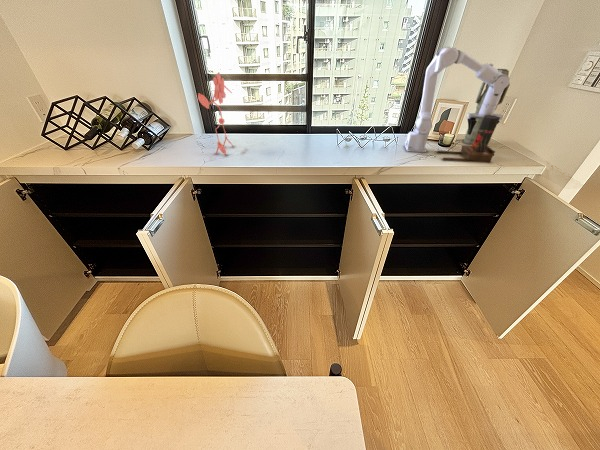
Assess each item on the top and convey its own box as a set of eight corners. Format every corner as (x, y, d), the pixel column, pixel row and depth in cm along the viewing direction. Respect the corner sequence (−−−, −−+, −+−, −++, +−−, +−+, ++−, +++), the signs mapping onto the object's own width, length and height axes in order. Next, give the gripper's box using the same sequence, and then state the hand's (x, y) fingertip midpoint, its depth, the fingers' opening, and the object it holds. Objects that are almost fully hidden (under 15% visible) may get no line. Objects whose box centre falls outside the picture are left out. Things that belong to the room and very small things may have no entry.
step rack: (443, 160, 123) (447, 149, 120) (437, 152, 131) (440, 141, 128) (490, 162, 120) (496, 151, 117) (481, 154, 129) (486, 143, 125)
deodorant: (487, 152, 120) (502, 119, 111) (473, 151, 121) (487, 118, 112) (482, 148, 125) (496, 115, 116) (469, 147, 126) (482, 114, 117)
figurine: (207, 160, 123) (188, 76, 102) (227, 142, 143) (214, 69, 122) (238, 162, 121) (225, 77, 100) (253, 143, 142) (245, 69, 121)
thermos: (487, 145, 139) (520, 70, 118) (464, 145, 139) (494, 70, 118) (479, 140, 146) (509, 68, 125) (457, 139, 146) (484, 68, 125)
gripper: (476, 105, 114) (464, 136, 122) (511, 106, 112) (497, 137, 120) (470, 102, 119) (459, 131, 127) (503, 103, 118) (490, 133, 126)
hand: (477, 134), depth 124 cm, fingers open, 7 cm apart
